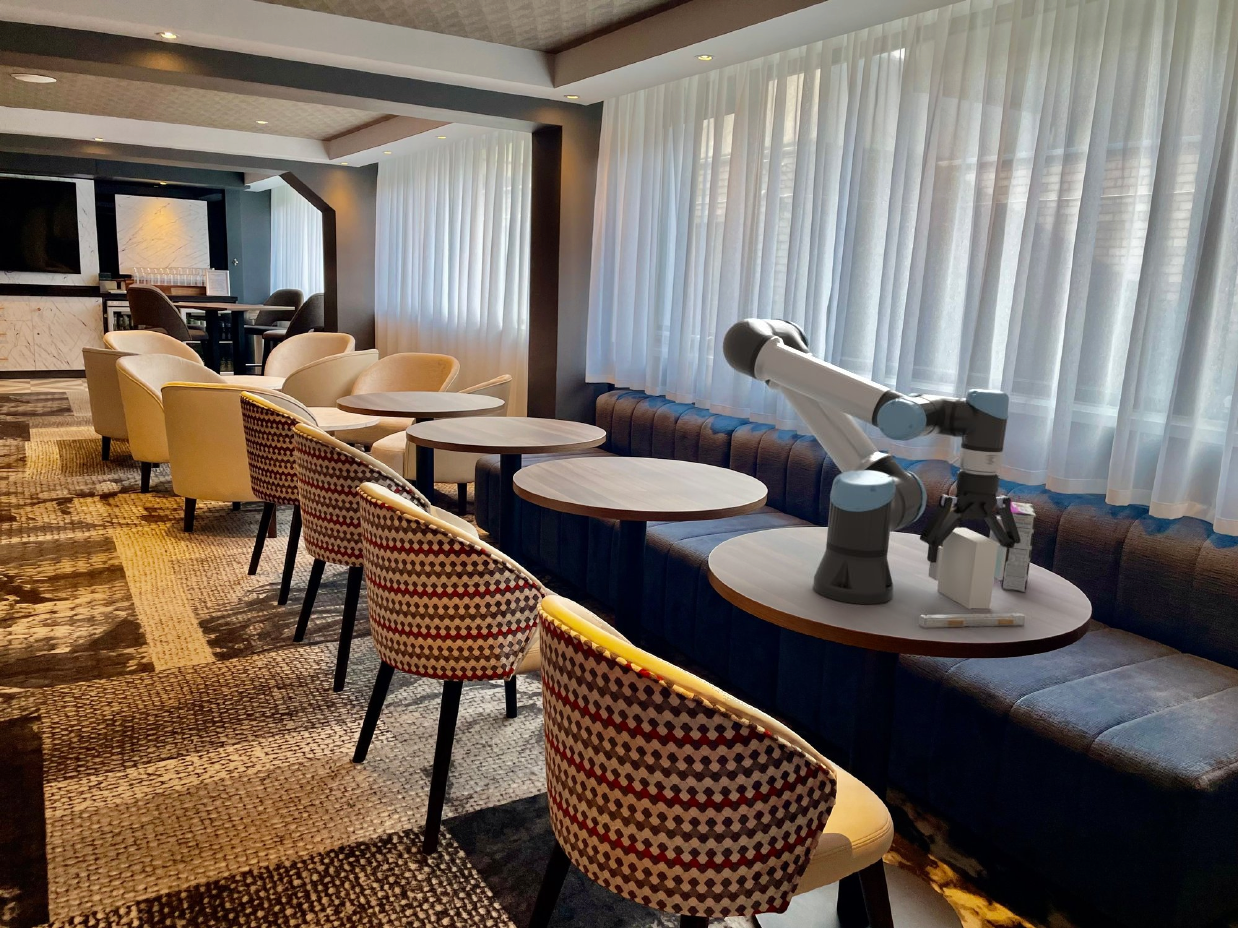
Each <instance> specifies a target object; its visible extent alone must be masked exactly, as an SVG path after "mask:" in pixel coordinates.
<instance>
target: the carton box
mask: <svg viewBox="0 0 1238 928" xmlns="http://www.w3.org/2000/svg"><path fill="white" fill-rule="evenodd" d="M997 550H998V542H996V541H994V540H992V539H989V537H987V536H984V535H983V534H980V533H979V532H975V531H974V530H971V529H969V528H967V527H959V528H955V529H954V530H953V531H952V533H951V534H950V535H949V536H948V537H947V538H946V539H945V540H944V541H943V555H942V563H941V572H940V580H939V581H938V582H937V591H938V592H940V593H941V594H943V595H944V596H946V597H948V598H949V599H951V600H952V601H954V602H956V603H958V604H959V605H961V606H963V607H965V608H966V609H968V608H970V609H969V610H972V609H971V608H989V609H990V608H991V603H992V595H993V587H994V580H995V577H994V573H995V566H996V558H997Z"/></svg>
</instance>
